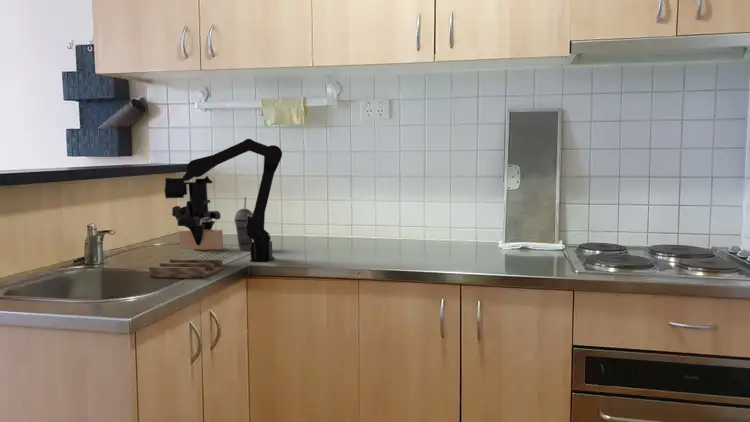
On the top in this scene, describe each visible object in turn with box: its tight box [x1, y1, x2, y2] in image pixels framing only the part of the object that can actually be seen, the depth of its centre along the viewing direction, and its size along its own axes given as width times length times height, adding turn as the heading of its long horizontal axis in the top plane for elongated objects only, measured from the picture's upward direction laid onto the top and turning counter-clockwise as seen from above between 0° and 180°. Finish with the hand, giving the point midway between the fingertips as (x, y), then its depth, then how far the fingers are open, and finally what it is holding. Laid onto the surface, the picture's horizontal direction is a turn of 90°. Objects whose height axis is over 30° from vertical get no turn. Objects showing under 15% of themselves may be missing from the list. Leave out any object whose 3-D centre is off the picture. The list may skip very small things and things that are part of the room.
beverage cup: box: [234, 196, 253, 252], centre depth 225 cm, size 7×7×20 cm
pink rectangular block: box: [178, 228, 224, 250], centre depth 201 cm, size 14×4×6 cm, turn 78°
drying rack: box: [148, 258, 224, 279], centre depth 188 cm, size 18×13×3 cm
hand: (201, 243), depth 201 cm, fingers closed on pink rectangular block, 3 cm apart
